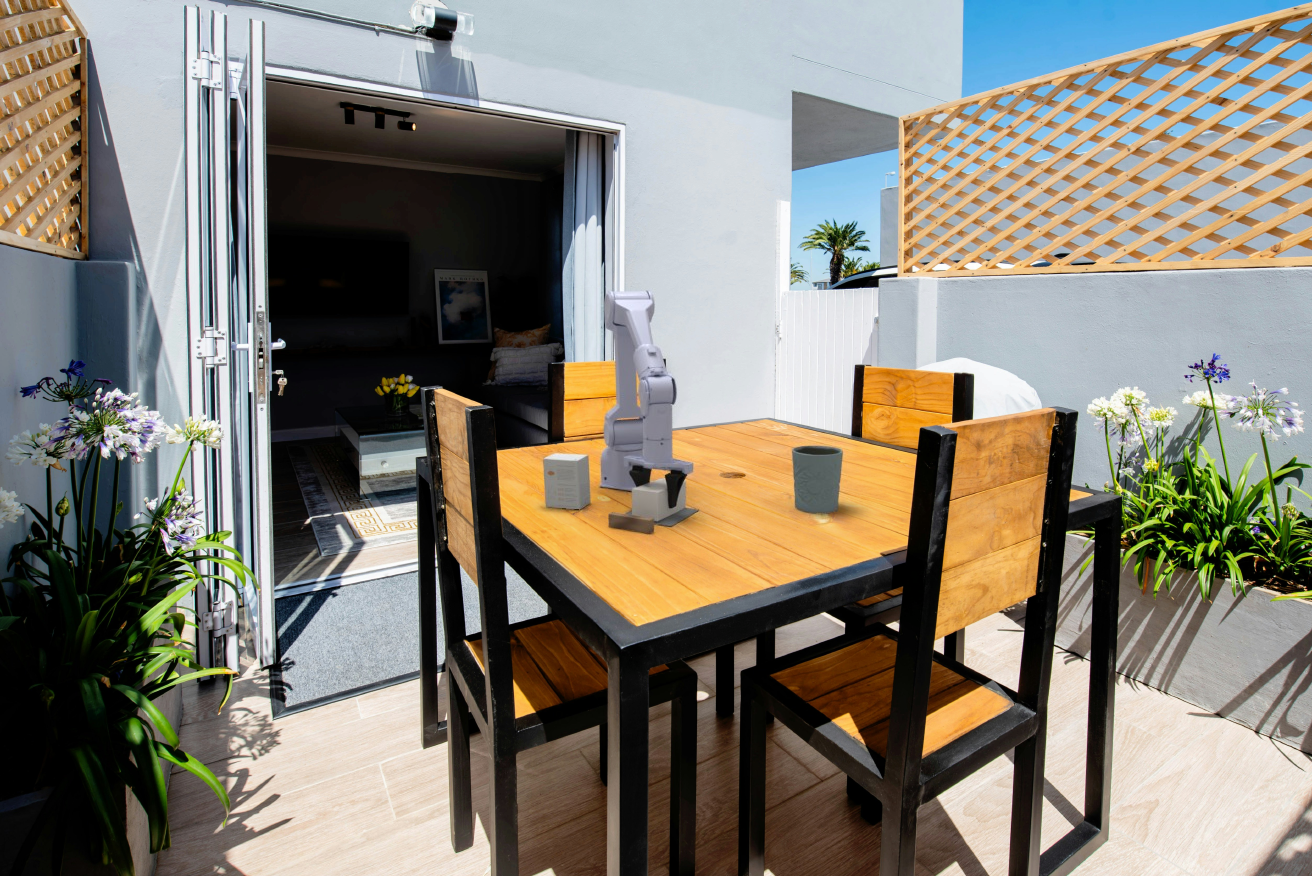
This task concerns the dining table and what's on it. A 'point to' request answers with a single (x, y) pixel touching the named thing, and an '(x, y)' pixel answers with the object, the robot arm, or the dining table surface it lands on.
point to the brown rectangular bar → (631, 522)
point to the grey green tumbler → (817, 478)
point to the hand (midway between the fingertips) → (658, 505)
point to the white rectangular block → (656, 500)
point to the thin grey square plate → (674, 517)
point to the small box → (566, 481)
